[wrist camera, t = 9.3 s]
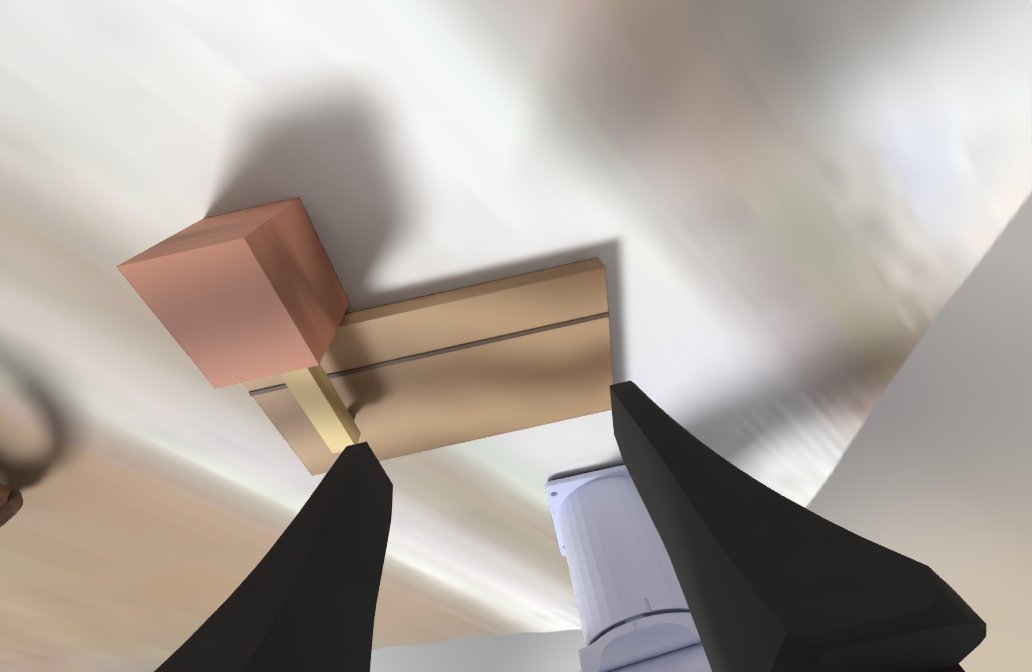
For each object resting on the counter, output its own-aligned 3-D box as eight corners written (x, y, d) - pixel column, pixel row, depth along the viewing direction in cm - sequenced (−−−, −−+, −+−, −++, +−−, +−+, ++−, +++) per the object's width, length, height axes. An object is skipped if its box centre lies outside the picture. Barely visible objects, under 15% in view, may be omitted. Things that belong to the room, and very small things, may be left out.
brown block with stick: (394, 394, 22) (379, 467, 18) (325, 409, 22) (293, 485, 18) (299, 196, 16) (243, 238, 12) (204, 218, 16) (116, 266, 12)
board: (608, 395, 24) (615, 409, 23) (318, 459, 24) (311, 476, 23) (597, 257, 19) (605, 268, 18) (232, 339, 19) (219, 354, 18)
